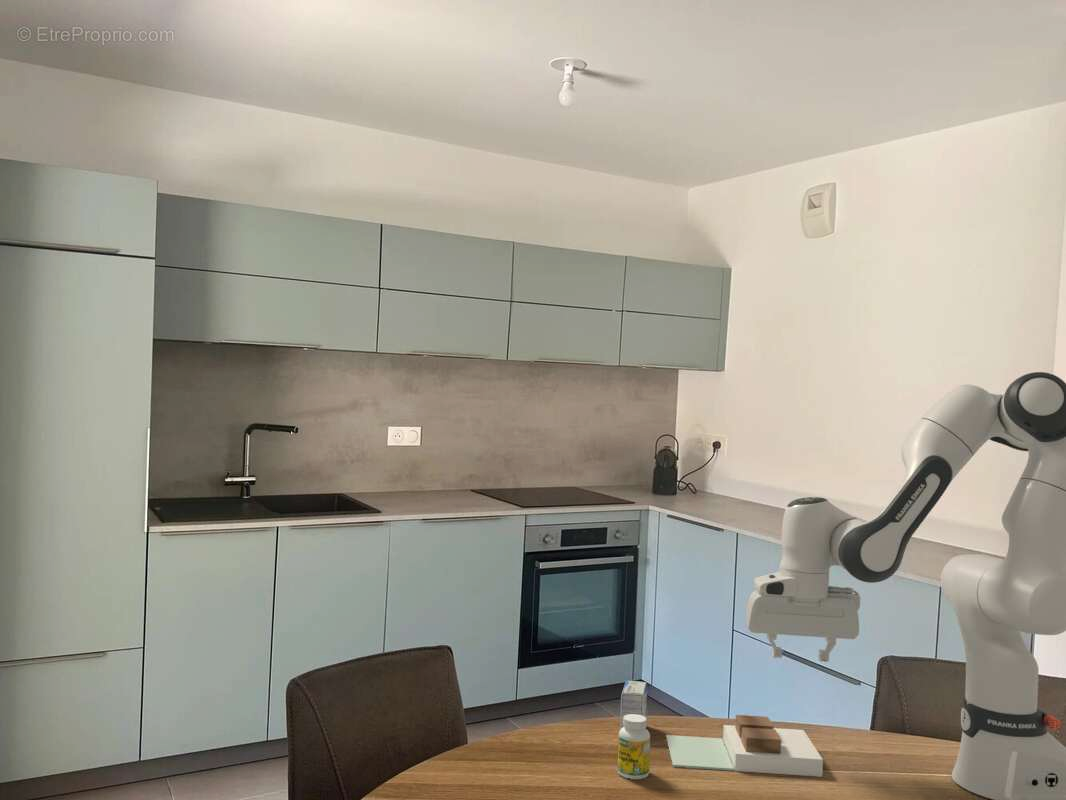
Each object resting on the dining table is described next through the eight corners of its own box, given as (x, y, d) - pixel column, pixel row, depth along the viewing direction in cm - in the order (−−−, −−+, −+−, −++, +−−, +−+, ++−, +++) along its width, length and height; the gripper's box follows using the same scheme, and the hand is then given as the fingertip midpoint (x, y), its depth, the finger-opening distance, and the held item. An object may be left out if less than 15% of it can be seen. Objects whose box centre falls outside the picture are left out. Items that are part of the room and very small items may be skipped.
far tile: (767, 730, 168) (767, 716, 168) (772, 740, 163) (773, 726, 163) (735, 728, 168) (735, 714, 168) (739, 737, 163) (740, 724, 163)
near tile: (774, 743, 161) (775, 729, 161) (780, 754, 156) (781, 739, 156) (741, 741, 161) (741, 727, 161) (746, 751, 156) (746, 737, 156)
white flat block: (802, 745, 168) (803, 730, 168) (822, 776, 154) (823, 759, 154) (722, 740, 169) (723, 724, 169) (735, 770, 155) (735, 753, 155)
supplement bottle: (653, 772, 153) (656, 717, 153) (640, 783, 149) (642, 726, 149) (626, 764, 156) (628, 710, 156) (611, 774, 152) (614, 718, 152)
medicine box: (642, 740, 168) (644, 694, 168) (619, 737, 169) (621, 691, 169) (645, 725, 176) (647, 681, 176) (623, 723, 177) (625, 679, 177)
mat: (721, 740, 169) (721, 738, 169) (733, 770, 155) (734, 768, 155) (665, 737, 170) (666, 734, 170) (672, 766, 156) (673, 764, 156)
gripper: (855, 584, 167) (852, 658, 167) (745, 578, 169) (742, 650, 169) (866, 591, 161) (862, 667, 161) (751, 584, 162) (748, 660, 162)
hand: (800, 659), depth 165 cm, fingers open, 7 cm apart
